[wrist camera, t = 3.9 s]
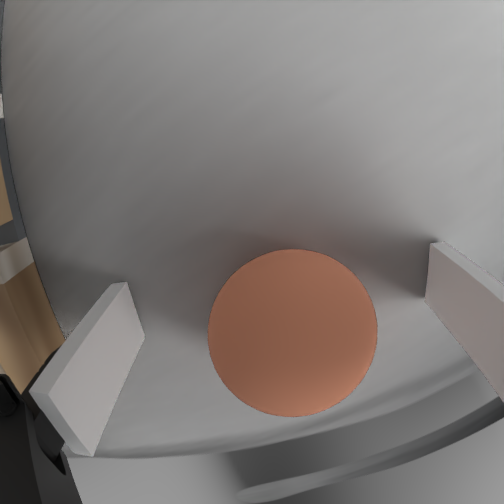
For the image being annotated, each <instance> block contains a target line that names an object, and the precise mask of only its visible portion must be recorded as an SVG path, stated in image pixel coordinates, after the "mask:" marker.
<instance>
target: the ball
mask: <svg viewBox="0 0 504 504" xmlns="http://www.w3.org/2000/svg"><path fill="white" fill-rule="evenodd" d="M376 344H377V320H376V314H375V310H374V307H373V304H372V301H371V299H370V297H369V295H368V293H367V291H366V289H365V287H364V286H363V284H362V283H361V282H360V281H359V279H358V278H357V277H356V276H355V275H354V274H353V273H352V272H351V271H350V270H349V269H348V268H347V267H345V266H344V265H342V264H341V263H340V262H338V261H336V260H335V259H333V258H331V257H329V256H327V255H324V254H321V253H318V252H314V251H309V250H302V249H286V250H279V251H273V252H270V253H267V254H264V255H261V256H259V257H257V258H255V259H253V260H251V261H250V262H248V263H246V264H245V265H243V266H242V267H241V268H239V269H238V270H237V271H236V272H234V274H233V275H232V276H231V277H230V278H229V279H228V280H227V281H226V283H225V284H224V286H223V287H222V288H221V290H220V291H219V293H218V295H217V297H216V299H215V301H214V304H213V307H212V310H211V313H210V317H209V323H208V346H209V351H210V356H211V359H212V362H213V364H214V367H215V370H216V371H217V373H218V375H219V377H220V378H221V380H222V381H223V383H224V384H225V385H226V387H227V388H228V389H229V390H230V391H231V392H232V393H233V394H234V395H235V396H236V397H237V398H238V399H240V400H241V401H242V402H244V403H245V404H247V405H249V406H251V407H253V408H255V409H256V410H259V411H261V412H264V413H267V414H271V415H276V416H285V417H299V416H306V415H311V414H315V413H318V412H321V411H324V410H326V409H328V408H330V407H332V406H334V405H336V404H337V403H339V402H340V401H342V400H343V399H345V398H346V397H347V396H348V395H349V394H350V393H351V392H352V391H353V390H354V389H355V388H356V387H357V386H358V385H359V384H360V382H361V381H362V379H363V378H364V376H365V375H366V373H367V371H368V369H369V367H370V365H371V363H372V360H373V357H374V353H375V349H376Z"/></svg>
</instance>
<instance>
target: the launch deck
mask: <svg viewBox="0 0 504 504" xmlns="http://www.w3.org/2000/svg"><path fill="white" fill-rule="evenodd" d="M65 341H66V340H65V338H64V336H63V334H62V332H61V329H60V327H59V325H58V322H57V320H56V318H55V315H54V313H53V311H52V308H51V306H50V303H49V301H48V298H47V296H46V293H45V290H44V288H43V285H42V282H41V279H40V277H39V274H38V271H37V268H36V265H35V262H34V259H33V256H32V253H31V250H30V246H29V243H28V240H27V237H25V238H24V239H22V240H20V241H17V242H13V243H9V244H5V245H1V246H0V374H6V375H8V376H9V377H10V379H11V380H12V382H13V383H14V385H15V387H16V388H17V390H18V391H19V393H20V394H22V392H23V391H24V389H25V388H26V387H27V385H28V384H29V382H30V381H31V380H32V378H33V377H34V375H35V374H36V373H37V372H39V369H40V367H41V366H42V365H43V364H44V362H45V361H46V359H47V358H48V357H49V355H50V354H51V353H52V352H53V351H54V350H56V349H57V348H58V347H60V346H61V345H62V344H63V343H64V342H65Z"/></svg>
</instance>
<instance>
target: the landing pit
mask: <svg viewBox="0 0 504 504" xmlns="http://www.w3.org/2000/svg"><path fill="white" fill-rule="evenodd" d="M4 1H5V0H0V246H1V245H5V244H9V243H13V242H17V241H20V240H22V239H24V238H25V237H27V236H26V233H25V229H24V225H23V222H22V218H21V214H20V210H19V206H18V201H17V197H16V193H15V188H14V183H13V178H12V173H11V167H10V161H9V155H8V149H7V142H6V134H5V125H4V116H3V103H2V86H1V38H2V22H3V10H4Z"/></svg>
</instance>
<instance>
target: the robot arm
mask: <svg viewBox="0 0 504 504" xmlns="http://www.w3.org/2000/svg"><path fill="white" fill-rule="evenodd" d="M425 303H426V304H427V305H428V306H429V307H430V309H431V310H432V311H433V312H434V313H435V314H436V316H437V317H438V318H439V319H440V320H441V322H442V323H443V324H444V325H445V326H446V328H447V329H448V330H449V331H450V332H451V334H452V335H453V336H454V337H455V339H456V340H457V341H458V342H459V344H460V345H461V346H462V347H463V349H464V350H465V351H466V352H467V354H468V355H469V356H470V358H471V359H472V360H473V362H474V363H475V364H476V365H477V367H478V368H479V369H480V371H481V372H482V373H483V375H484V376H485V377H486V379H487V380H488V382H489V383H490V384H491V386H492V387H493V388H494V390H495V391H496V393H497V394H498V395H499V397H500V398H501V400H502V401H503V403H504V285H503V284H502V283H501V282H499V281H498V280H497V279H496V278H494V277H493V276H492V275H490V274H489V273H488V272H486V271H485V270H484V269H482V268H481V267H480V266H478V265H477V264H476V263H474V262H473V261H472V260H470V259H469V258H467V257H466V256H465V255H463V254H462V253H460V252H459V251H458V250H456V249H455V248H453V247H452V246H450V245H449V244H448V243H446V242H445V241H444V242H438V243H431V244H430V251H429V264H428V275H427V285H426V294H425ZM144 339H145V334H144V331H143V329H142V326H141V323H140V320H139V317H138V314H137V311H136V308H135V305H134V302H133V299H132V296H131V293H130V290H129V286H128V283H127V282H121V283H112V284H111V285H110V286H109V287H108V288H107V289H106V291H105V292H104V293H103V294H102V295H101V297H100V298H99V299H98V300H97V301H96V303H95V304H94V305H93V306H92V308H91V309H90V310H89V311H88V313H87V314H86V315H85V316H84V318H83V319H82V320H81V321H80V323H79V324H78V325H77V326H76V328H75V329H74V330H73V331H72V333H71V334H70V335H69V337H68V338H67V339H66V341H65V342H64V343H63V344H62V345H61V346H60V347H58V348H57V349H56V350H54V351H53V352H52V353H51V354H50V355H49V357H48V358H47V359H46V361H45V362H44V364H43V365H42V366H41V367H40V369H39V372H37V373H36V374H35V375H34V377H33V378H32V380H31V381H30V382H29V384H28V385H27V387H26V388H25V389H24V391H23V392H22V394H20V393H19V391H18V390H17V388H16V387H15V385H14V383H13V382H12V380H11V379H10V377H9V376H8V375H6V374H0V504H82V501H81V498H80V496H79V493H78V490H77V488H76V485H75V482H74V479H73V476H72V473H71V470H70V467H69V464H68V461H67V457H66V455H65V454H64V452H63V451H62V450H61V448H62V446H63V444H64V442H65V443H66V444H67V445H68V447H69V448H70V449H71V450H72V452H73V453H76V454H81V455H86V456H91V457H93V456H94V453H95V451H96V448H97V446H98V443H99V441H100V438H101V436H102V433H103V431H104V429H105V426H106V424H107V422H108V419H109V417H110V414H111V412H112V410H113V408H114V405H115V403H116V401H117V398H118V396H119V394H120V392H121V389H122V387H123V385H124V383H125V380H126V378H127V376H128V374H129V372H130V369H131V367H132V365H133V363H134V361H135V358H136V356H137V354H138V352H139V350H140V348H141V346H142V343H143V341H144Z"/></svg>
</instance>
